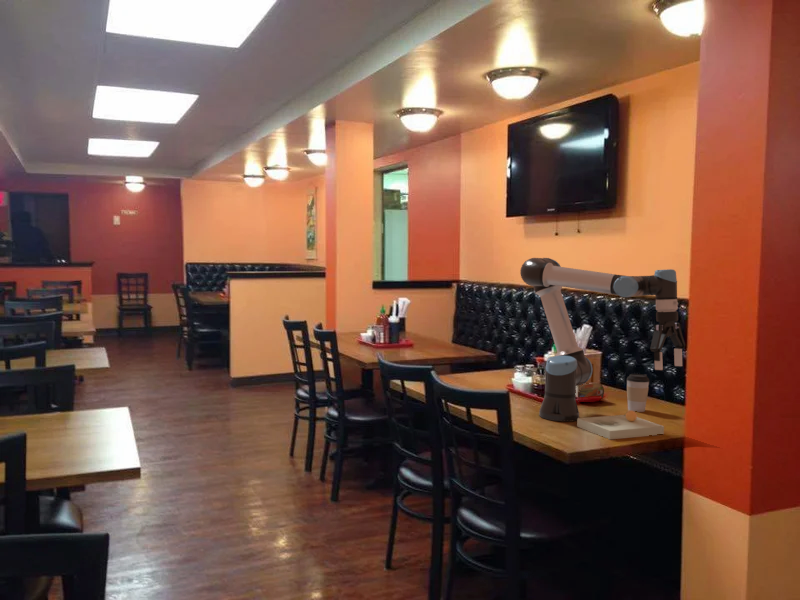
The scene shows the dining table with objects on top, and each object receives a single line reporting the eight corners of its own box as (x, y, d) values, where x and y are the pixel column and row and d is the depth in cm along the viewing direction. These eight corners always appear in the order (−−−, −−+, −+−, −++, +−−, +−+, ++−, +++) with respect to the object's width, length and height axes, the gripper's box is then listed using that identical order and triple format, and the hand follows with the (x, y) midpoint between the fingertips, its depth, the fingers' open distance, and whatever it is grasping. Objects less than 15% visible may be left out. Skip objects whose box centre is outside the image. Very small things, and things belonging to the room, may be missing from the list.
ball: (622, 420, 241) (623, 409, 241) (631, 419, 242) (632, 409, 242) (630, 423, 237) (631, 412, 237) (639, 422, 239) (639, 411, 238)
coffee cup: (627, 411, 268) (629, 375, 267) (622, 406, 277) (624, 371, 276) (650, 413, 267) (652, 376, 266) (644, 408, 276) (646, 372, 275)
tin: (578, 404, 280) (579, 384, 280) (573, 402, 283) (574, 383, 282) (604, 401, 288) (605, 382, 287) (598, 399, 290) (599, 381, 290)
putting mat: (577, 426, 242) (577, 418, 242) (628, 422, 251) (629, 414, 251) (609, 439, 225) (610, 430, 225) (663, 434, 234) (664, 426, 234)
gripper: (657, 312, 232) (659, 372, 233) (693, 309, 248) (695, 365, 248) (638, 312, 238) (640, 370, 239) (675, 309, 254) (677, 363, 254)
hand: (668, 367), depth 243 cm, fingers open, 13 cm apart
